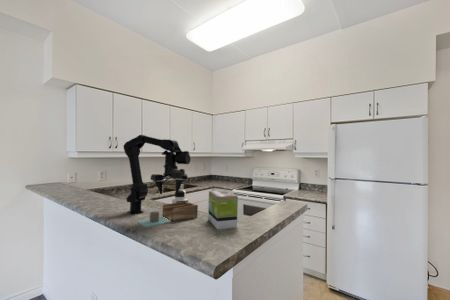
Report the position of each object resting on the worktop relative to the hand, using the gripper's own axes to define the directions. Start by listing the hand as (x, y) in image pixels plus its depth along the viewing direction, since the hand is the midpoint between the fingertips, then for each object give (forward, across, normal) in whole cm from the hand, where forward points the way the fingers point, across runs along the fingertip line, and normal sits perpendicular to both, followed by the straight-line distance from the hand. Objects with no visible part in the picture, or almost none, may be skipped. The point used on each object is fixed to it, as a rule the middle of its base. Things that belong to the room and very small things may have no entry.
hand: (169, 193), depth 107 cm
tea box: (+12, +14, -26) cm, 32 cm away
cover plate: (+13, -10, -5) cm, 17 cm away
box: (+12, +4, -5) cm, 14 cm away
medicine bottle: (+12, +10, +5) cm, 17 cm away
